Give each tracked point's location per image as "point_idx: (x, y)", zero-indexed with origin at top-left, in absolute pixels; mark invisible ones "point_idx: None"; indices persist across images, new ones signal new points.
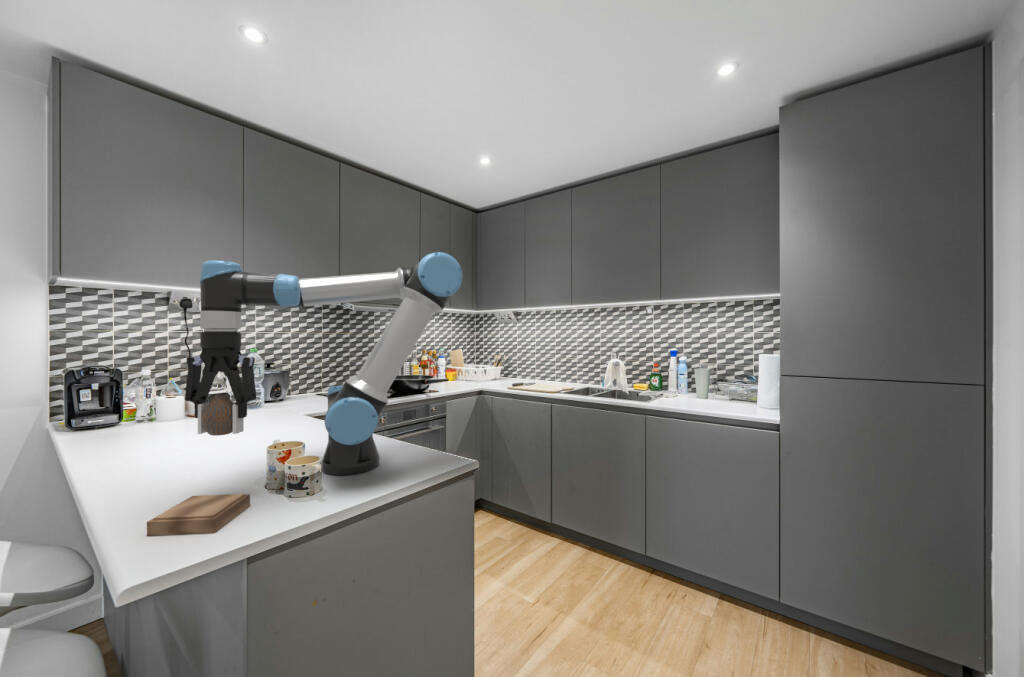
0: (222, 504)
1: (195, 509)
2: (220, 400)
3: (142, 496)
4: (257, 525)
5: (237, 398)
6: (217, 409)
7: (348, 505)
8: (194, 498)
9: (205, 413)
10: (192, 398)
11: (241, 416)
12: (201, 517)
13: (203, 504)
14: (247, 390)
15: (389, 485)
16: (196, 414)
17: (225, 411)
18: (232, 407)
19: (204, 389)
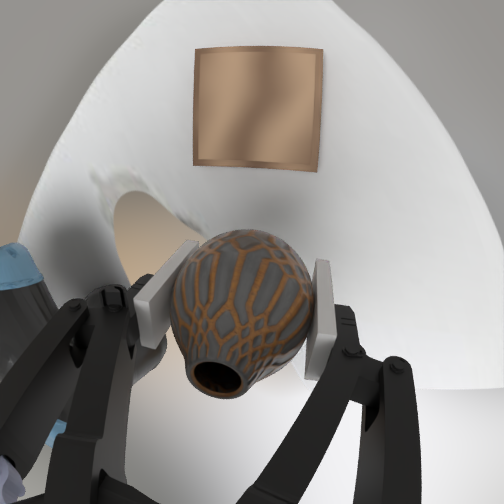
0: (212, 103)
1: (254, 83)
2: (202, 330)
3: (439, 256)
4: (148, 80)
5: (114, 320)
6: (210, 274)
7: (57, 154)
8: (296, 147)
9: (276, 271)
10: (375, 373)
11: (146, 277)
12: (223, 53)
13: (254, 108)
14: (48, 330)
15: (39, 227)
16: (346, 316)
17: (184, 277)
18: (170, 312)
19: (303, 410)
